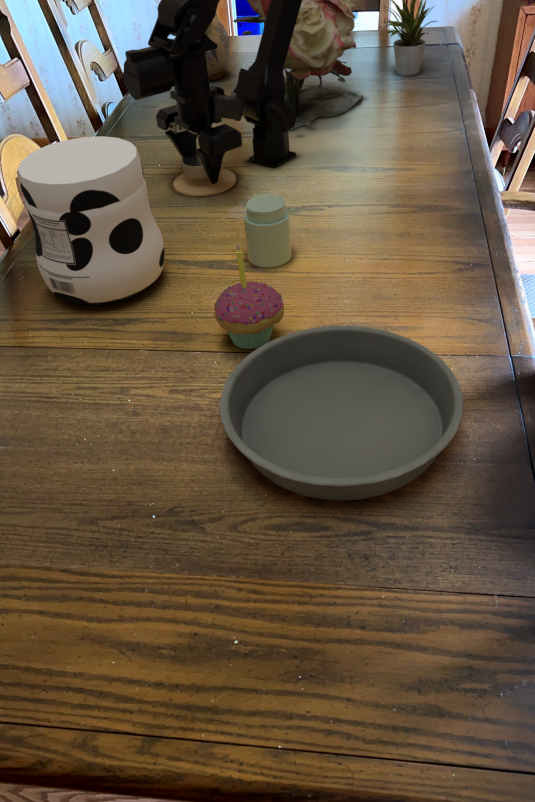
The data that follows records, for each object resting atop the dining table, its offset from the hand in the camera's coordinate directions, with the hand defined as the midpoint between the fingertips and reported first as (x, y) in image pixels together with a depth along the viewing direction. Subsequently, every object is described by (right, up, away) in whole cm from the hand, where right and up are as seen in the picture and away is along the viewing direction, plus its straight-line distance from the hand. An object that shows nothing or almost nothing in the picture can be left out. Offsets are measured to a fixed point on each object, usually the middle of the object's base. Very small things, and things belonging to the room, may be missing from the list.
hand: (204, 177), depth 125 cm
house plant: (+43, +37, +40) cm, 69 cm away
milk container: (-12, -22, -23) cm, 34 cm away
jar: (+11, -18, -21) cm, 29 cm away
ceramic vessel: (-2, +38, +46) cm, 60 cm away
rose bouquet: (+18, +24, +28) cm, 41 cm away
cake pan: (+19, -42, -49) cm, 67 cm away
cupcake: (+9, -31, -36) cm, 48 cm away
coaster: (0, -1, +1) cm, 1 cm away
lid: (0, +2, -2) cm, 3 cm away
